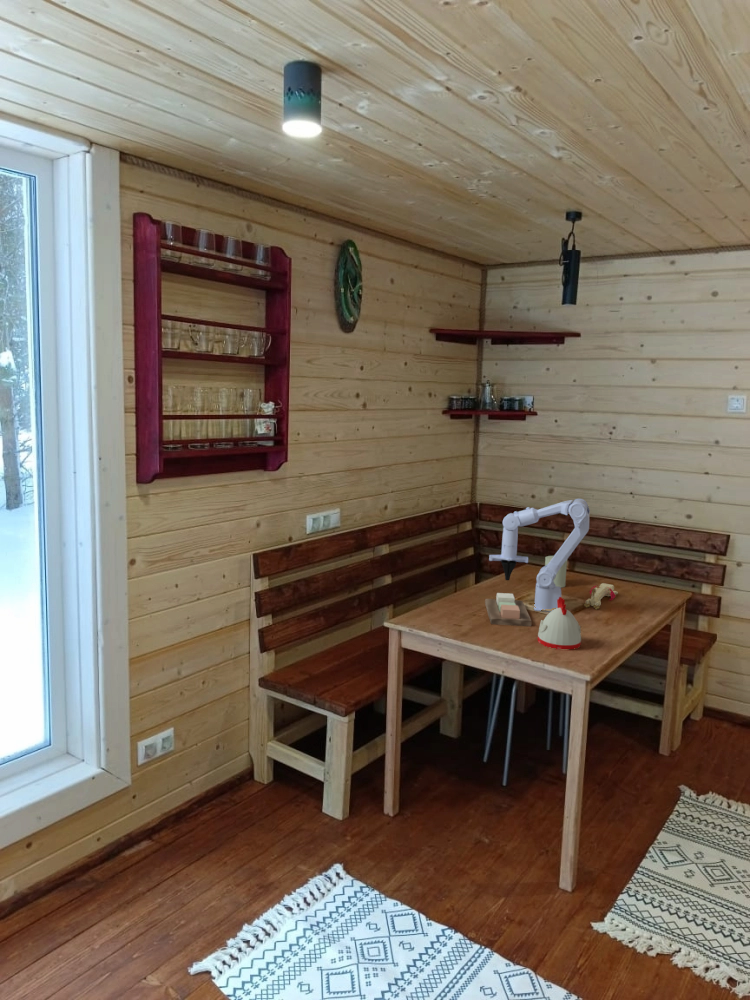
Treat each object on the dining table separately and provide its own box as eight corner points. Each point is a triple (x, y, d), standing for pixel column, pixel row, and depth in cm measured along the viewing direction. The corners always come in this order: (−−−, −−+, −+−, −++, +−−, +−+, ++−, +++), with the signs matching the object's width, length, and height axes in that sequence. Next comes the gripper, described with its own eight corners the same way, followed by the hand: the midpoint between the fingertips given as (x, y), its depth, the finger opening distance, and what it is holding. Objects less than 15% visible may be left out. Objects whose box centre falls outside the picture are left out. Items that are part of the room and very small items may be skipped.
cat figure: (604, 614, 286) (621, 594, 306) (605, 592, 284) (622, 573, 304) (578, 609, 291) (596, 589, 311) (579, 587, 289) (597, 569, 309)
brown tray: (521, 605, 288) (522, 600, 287) (531, 626, 264) (531, 620, 264) (485, 603, 288) (485, 598, 288) (490, 624, 265) (491, 618, 264)
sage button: (514, 611, 279) (514, 602, 278) (516, 616, 273) (517, 607, 272) (498, 610, 279) (498, 601, 279) (499, 616, 273) (500, 606, 273)
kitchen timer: (573, 635, 256) (577, 593, 253) (586, 650, 242) (590, 605, 240) (532, 635, 255) (536, 592, 253) (543, 649, 242) (547, 604, 239)
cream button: (512, 602, 286) (512, 593, 285) (514, 607, 280) (514, 598, 280) (496, 601, 286) (496, 592, 286) (497, 606, 280) (498, 597, 280)
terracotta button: (517, 614, 271) (517, 605, 271) (519, 620, 265) (520, 610, 265) (500, 613, 272) (501, 604, 271) (502, 619, 266) (502, 609, 265)
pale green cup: (567, 588, 315) (570, 560, 313) (545, 587, 314) (548, 559, 313) (562, 582, 324) (564, 555, 322) (540, 581, 324) (543, 554, 322)
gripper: (491, 546, 282) (489, 581, 285) (530, 548, 282) (527, 583, 284) (489, 542, 289) (487, 576, 292) (527, 544, 289) (525, 578, 291)
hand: (507, 579), depth 288 cm, fingers closed
